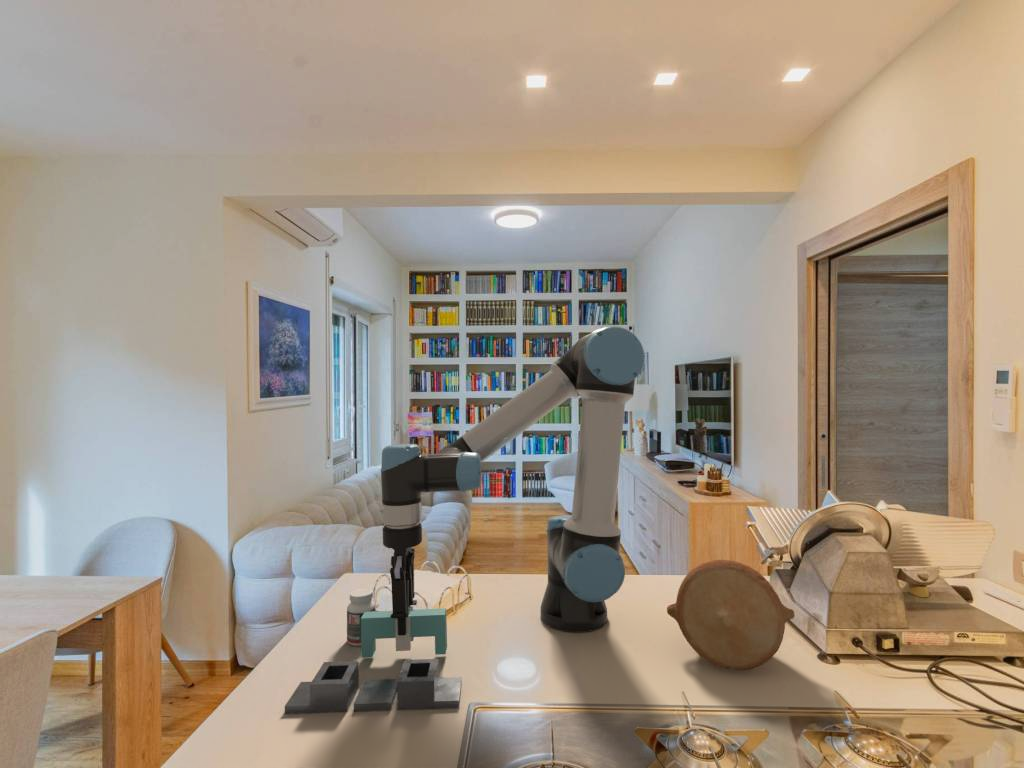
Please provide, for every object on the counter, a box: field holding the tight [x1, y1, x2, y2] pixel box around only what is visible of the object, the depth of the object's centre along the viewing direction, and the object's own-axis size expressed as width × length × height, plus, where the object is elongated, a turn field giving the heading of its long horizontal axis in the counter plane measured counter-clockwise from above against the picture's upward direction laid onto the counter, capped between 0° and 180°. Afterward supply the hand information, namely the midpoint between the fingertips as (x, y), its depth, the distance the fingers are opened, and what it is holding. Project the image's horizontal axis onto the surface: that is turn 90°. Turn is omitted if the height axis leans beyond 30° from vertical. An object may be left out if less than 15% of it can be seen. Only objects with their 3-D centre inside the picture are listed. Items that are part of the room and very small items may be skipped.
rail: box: [284, 658, 463, 715], centre depth 87 cm, size 28×7×4 cm, turn 92°
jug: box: [666, 559, 795, 671], centre depth 104 cm, size 20×19×30 cm
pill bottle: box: [346, 587, 376, 647], centre depth 107 cm, size 6×6×10 cm
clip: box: [360, 607, 448, 659], centre depth 100 cm, size 16×3×8 cm, turn 92°
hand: (405, 644), depth 100 cm, fingers closed on clip, 3 cm apart
